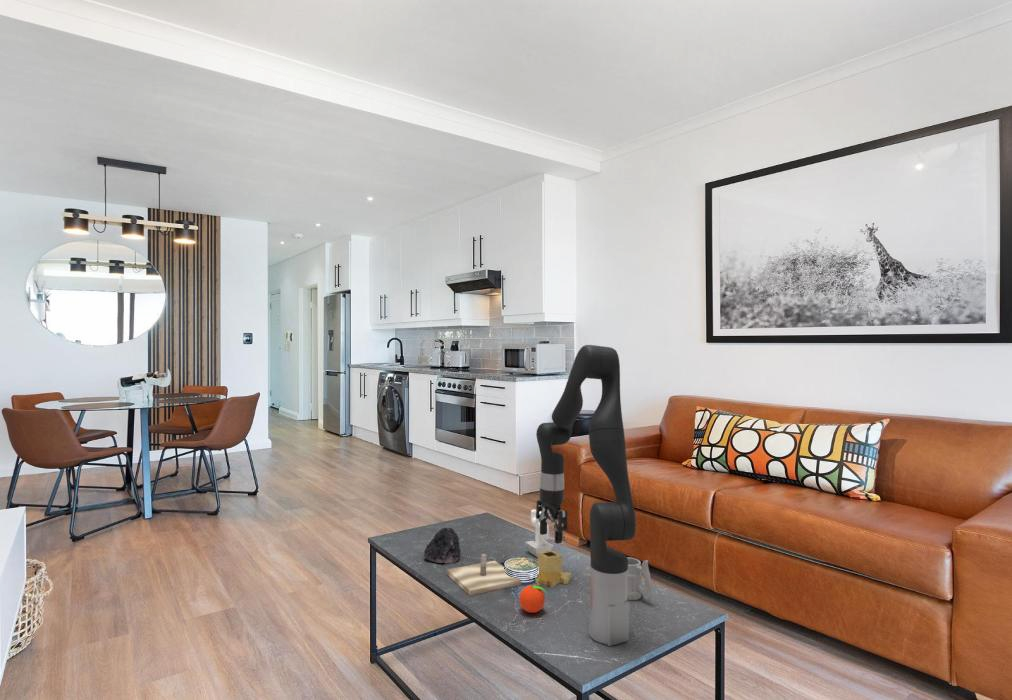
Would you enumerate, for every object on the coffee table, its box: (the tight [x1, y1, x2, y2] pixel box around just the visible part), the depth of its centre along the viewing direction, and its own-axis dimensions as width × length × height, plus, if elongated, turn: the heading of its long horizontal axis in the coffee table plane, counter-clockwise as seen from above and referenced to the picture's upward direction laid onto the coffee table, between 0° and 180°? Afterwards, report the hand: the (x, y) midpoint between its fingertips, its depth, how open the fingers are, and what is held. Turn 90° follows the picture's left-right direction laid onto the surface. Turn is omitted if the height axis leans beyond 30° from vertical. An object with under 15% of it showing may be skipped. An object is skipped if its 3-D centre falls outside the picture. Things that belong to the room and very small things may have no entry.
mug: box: [626, 556, 653, 601], centre depth 165 cm, size 8×12×12 cm, turn 37°
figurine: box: [524, 508, 554, 558], centre depth 198 cm, size 7×9×15 cm
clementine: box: [518, 584, 550, 614], centre depth 155 cm, size 8×7×7 cm
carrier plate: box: [446, 553, 522, 596], centre depth 175 cm, size 17×17×8 cm
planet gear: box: [535, 549, 572, 588], centre depth 177 cm, size 12×12×8 cm
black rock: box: [423, 527, 461, 565], centre depth 193 cm, size 13×14×10 cm
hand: (550, 538), depth 177 cm, fingers open, 8 cm apart
